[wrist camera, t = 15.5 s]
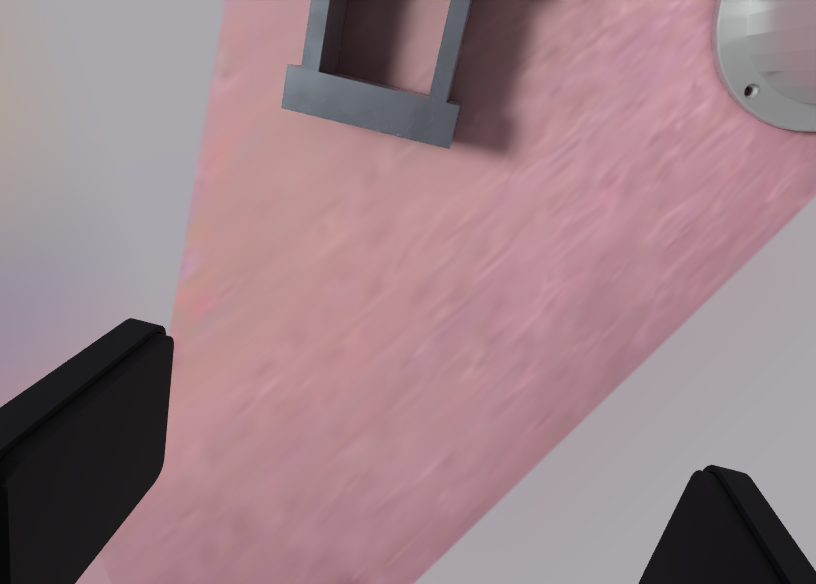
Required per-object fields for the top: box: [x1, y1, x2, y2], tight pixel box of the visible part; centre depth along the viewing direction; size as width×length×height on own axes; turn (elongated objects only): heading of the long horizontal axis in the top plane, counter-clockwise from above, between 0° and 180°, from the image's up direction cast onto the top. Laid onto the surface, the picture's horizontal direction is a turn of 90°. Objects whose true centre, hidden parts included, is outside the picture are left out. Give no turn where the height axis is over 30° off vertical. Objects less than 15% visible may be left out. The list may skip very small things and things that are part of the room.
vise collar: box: [282, 0, 473, 149], centre depth 34 cm, size 10×11×4 cm
